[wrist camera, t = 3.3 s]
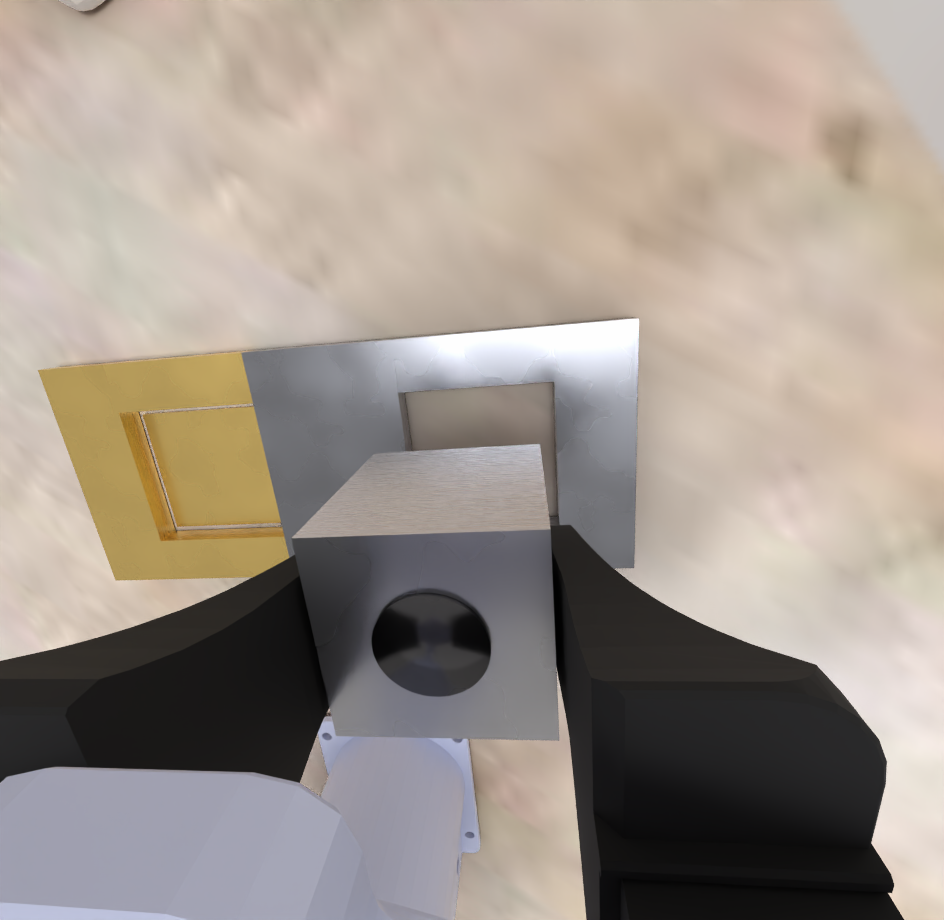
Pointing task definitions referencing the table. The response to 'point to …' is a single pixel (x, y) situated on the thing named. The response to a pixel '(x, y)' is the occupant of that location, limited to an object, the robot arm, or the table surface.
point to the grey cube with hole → (436, 596)
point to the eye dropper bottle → (82, 4)
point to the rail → (326, 437)
